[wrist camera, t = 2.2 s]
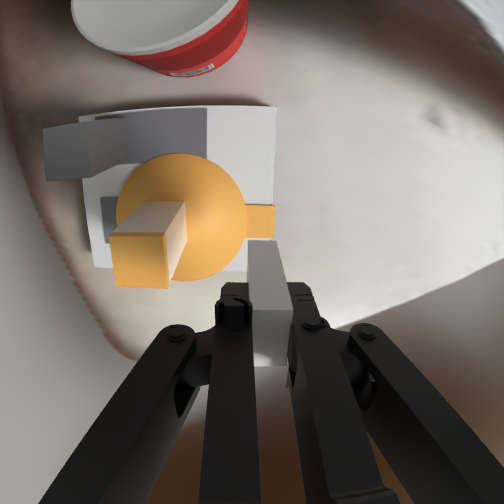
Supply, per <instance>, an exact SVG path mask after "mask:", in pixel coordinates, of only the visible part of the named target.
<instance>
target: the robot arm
mask: <svg viewBox="0 0 504 504" xmlns="http://www.w3.org/2000/svg"><path fill="white" fill-rule="evenodd" d="M287 357H288V363H289V368H288V375H287V382H286V388H288V387H289V388H290V394H291V402H292V408H293V414H294V422H295V429H296V436H297V443H298V450H299V457H300V464H301V471H302V478H303V485H304V493H305V500H306V504H400V502H399V499H398V497H397V494H396V493H395V492H394V491H393V490H392V489H388V488H386V487H385V486H384V485H383V483H382V480H381V476H380V473H379V470H378V466H377V463H376V460H375V457H374V453H373V450H372V447H371V444H370V441H369V438H368V435H367V432H368V433H369V435H370V437H371V438H372V439H373V441H374V443H375V444H376V446H377V447H378V449H379V450H380V452H381V453H382V455H383V456H384V458H385V459H386V461H387V463H388V464H389V466H390V467H391V469H392V470H393V472H394V473H395V475H396V476H397V478H398V479H399V481H400V483H401V484H402V486H403V487H404V488H405V490H406V492H407V493H408V494H409V496H410V498H411V499H412V501H413V502H414V504H504V467H503V466H502V465H501V464H500V463H499V461H498V460H497V459H496V458H495V457H494V455H493V454H492V453H491V452H490V451H489V449H488V448H487V447H486V446H485V445H484V443H483V442H482V441H481V440H480V439H479V438H478V436H477V435H476V434H475V433H474V432H473V431H472V429H471V428H470V427H469V426H468V425H467V424H466V422H465V421H464V420H463V419H462V418H461V417H460V416H459V414H458V413H457V412H456V411H455V410H454V409H453V408H452V407H451V405H450V404H449V403H448V402H447V401H446V400H445V399H444V398H443V396H442V395H441V394H440V393H439V392H438V391H437V390H436V389H435V387H434V386H433V385H432V384H431V383H430V382H429V381H428V380H427V379H426V378H425V377H424V375H423V374H422V373H421V372H420V371H419V370H418V369H417V368H416V367H415V366H414V365H413V363H412V362H411V361H410V360H409V359H408V358H407V357H406V356H405V355H404V354H403V353H402V352H401V351H400V349H399V348H398V347H397V346H396V345H395V344H394V343H393V342H392V341H391V340H390V339H389V338H388V337H387V336H386V334H385V333H384V332H383V331H382V330H380V329H379V328H378V327H376V326H374V325H372V324H367V323H361V324H356V325H354V326H353V327H352V328H351V329H350V332H344V331H339V330H335V329H332V328H330V325H329V323H328V322H327V320H325V319H324V318H322V317H320V314H319V311H318V308H317V306H316V303H315V301H314V297H313V296H312V292H311V289H310V287H308V286H307V285H306V284H305V283H304V282H286V278H285V274H284V270H283V266H282V262H281V258H280V254H279V250H278V246H277V242H276V241H268V240H248V256H247V283H234V282H227V283H226V284H225V285H224V286H223V287H222V288H221V296H220V300H218V301H217V302H216V304H215V326H214V327H212V328H211V329H209V330H207V331H203V332H198V333H195V332H194V330H193V329H192V328H190V327H189V326H186V325H179V324H176V325H170V326H167V327H165V328H163V329H162V330H161V331H160V332H159V333H158V335H157V336H156V338H155V339H154V340H153V342H152V343H151V344H150V346H149V347H148V348H147V350H146V351H145V352H144V354H143V355H142V356H141V358H140V359H139V361H138V362H137V363H136V365H135V366H134V367H133V369H132V370H131V372H130V373H129V374H128V376H127V377H126V379H125V380H124V381H123V383H122V384H121V385H120V387H119V388H118V389H117V391H116V392H115V394H114V395H113V397H112V398H111V399H110V401H109V402H108V403H107V405H106V406H105V408H104V409H103V411H102V412H101V413H100V415H99V416H98V417H97V419H96V420H95V422H94V423H93V425H92V426H91V427H90V429H89V430H88V432H87V433H86V434H85V436H84V437H83V439H82V440H81V442H80V443H79V445H78V446H77V447H76V449H75V450H74V452H73V453H72V455H71V456H70V458H69V459H68V461H67V462H66V463H65V465H64V466H63V468H62V469H61V471H60V472H59V474H58V475H57V477H56V478H55V480H54V481H53V482H52V484H51V485H50V487H49V489H48V490H47V491H46V493H45V495H44V496H43V497H42V499H41V501H40V502H39V503H38V504H145V502H146V500H147V498H148V496H149V494H150V492H151V490H152V488H153V486H154V484H155V482H156V480H157V478H158V476H159V474H160V471H161V469H162V467H163V465H164V463H165V461H166V459H167V457H168V455H169V453H170V451H171V449H172V446H173V445H174V442H175V440H176V438H177V436H178V434H179V432H180V430H181V428H182V426H183V424H184V422H185V420H186V417H187V415H188V413H189V411H190V409H191V407H192V405H193V403H194V401H195V398H196V397H197V394H198V392H199V390H200V386H203V385H208V384H209V391H208V401H207V410H206V421H205V433H204V443H203V457H202V468H201V480H200V494H199V502H198V504H261V495H260V475H259V456H258V436H257V416H256V398H255V396H256V395H255V376H254V366H286V365H287ZM366 430H367V431H366Z"/></svg>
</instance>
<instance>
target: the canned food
mask: <svg viewBox="0 0 504 504" xmlns="http://www.w3.org/2000/svg"><path fill="white" fill-rule="evenodd" d="M248 4H249V0H71V11H72V16H73V20H74V22H75V24H76V26H77V28H78V30H79V31H80V32H81V34H82V35H83V36H84V37H85V38H86V39H87V40H89V41H90V42H92V43H93V44H95V45H96V46H98V47H100V48H101V49H103V50H105V51H108V52H110V53H112V54H114V55H117V56H120V57H122V58H125V59H128V60H130V61H133V62H135V63H138V64H140V65H143V66H145V67H147V68H150V69H152V70H155V71H157V72H159V73H162V74H165V75H167V76H173V77H193V76H199V75H202V74H205V73H208V72H211V71H212V70H214V69H216V68H218V67H220V66H221V65H223V64H224V63H225V62H227V61H228V60H229V59H230V58H231V57H232V56H233V55H234V54H235V53H236V52H237V50H238V49H239V47H240V46H241V44H242V42H243V40H244V37H245V35H246V29H247V21H248Z"/></svg>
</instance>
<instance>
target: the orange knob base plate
mask: <svg viewBox="0 0 504 504" xmlns="http://www.w3.org/2000/svg"><path fill="white" fill-rule="evenodd" d="M276 111H277V107H269V106H232V105H214V106H178V107H161V108H147V109H135V110H125V111H116V112H108V113H100V114H92V115H86V116H79V123H72V124H66V125H60V126H54V127H49V128H44V129H43V146H44V159H45V170H46V179H47V181H57V180H69V179H81V178H82V183H83V193H84V201H85V209H86V217H87V224H88V230H89V237H90V243H91V249H92V254H93V260H94V265H95V267H98V268H113V263H112V257H111V250H110V244H109V237H108V236H109V235H110V234H111V233H112V232H113V231H114V230H115V229H116V228H117V227H118V226H119V225H120V224H121V223H122V222H123V221H124V220H125V219H126V218H127V217H128V216H129V215H130V214H131V213H132V212H133V211H134V210H135V209H136V208H137V207H138V206H139V205H140V204H141V203H142V202H144V201H185V214H186V236H187V242H186V244H185V247H184V249H183V252H182V254H181V257H180V259H179V262H178V264H177V267H176V269H175V272H174V274H173V277H172V279H171V280H175V281H194V280H200V279H203V278H207V277H209V276H212V275H214V274H216V273H217V272H219V271H247V256H248V240H268V241H270V238H274V221H275V205H272V199H273V179H274V158H275V135H276Z"/></svg>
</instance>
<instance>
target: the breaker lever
mask: <svg viewBox="0 0 504 504" xmlns="http://www.w3.org/2000/svg"><path fill="white" fill-rule="evenodd" d="M108 237H109V244H110V250H111V257H112V263H113V269H114V274H115V280H116V285H117V287H135V288H158V289H168V287H169V284H170V282H171V279H172V277H173V274H174V272H175V269H176V267H177V264H178V262H179V259H180V257H181V254H182V252H183V249H184V247H185V244H186V242H187V236H186V214H185V201H144V202H142V203H141V204H140V205H139V206H138V207H137V208H136V209H135V210H134V211H133V212H132V213H131V214H130V215H129V216H128V217H127V218H126V219H125V220H124V221H123V222H122V223H121V224H120V225H119V226H118V227H117V228H116V229H115V230H114V231H113V232H112V233H111V234H110V235H109V236H108Z"/></svg>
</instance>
